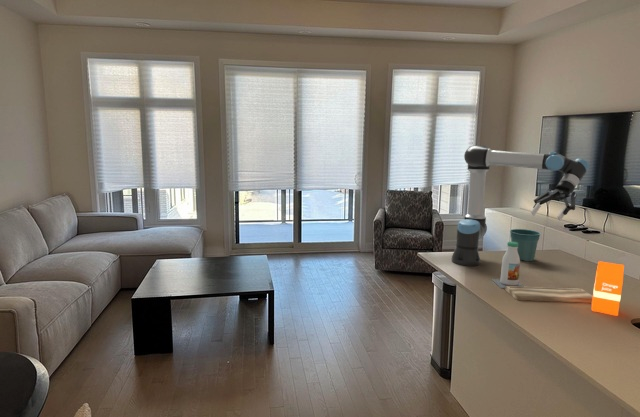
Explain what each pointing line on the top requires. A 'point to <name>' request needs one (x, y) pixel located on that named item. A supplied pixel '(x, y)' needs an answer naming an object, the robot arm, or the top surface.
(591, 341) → the top surface
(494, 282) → the plate
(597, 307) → the orange juice
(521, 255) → the flower pot
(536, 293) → the oak board
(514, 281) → the milk bottle
